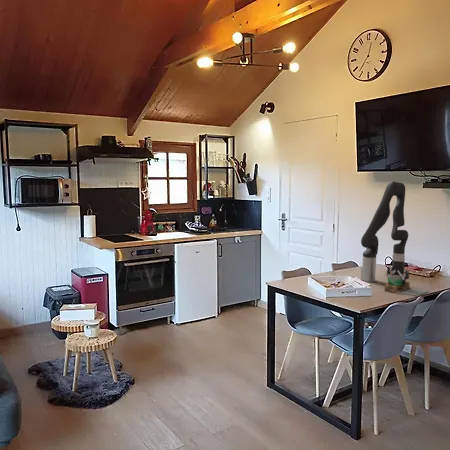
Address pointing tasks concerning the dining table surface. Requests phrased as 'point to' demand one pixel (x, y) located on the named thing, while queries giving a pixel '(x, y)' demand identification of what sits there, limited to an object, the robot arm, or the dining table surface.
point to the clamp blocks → (395, 287)
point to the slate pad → (414, 292)
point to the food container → (395, 281)
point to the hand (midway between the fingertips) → (397, 284)
